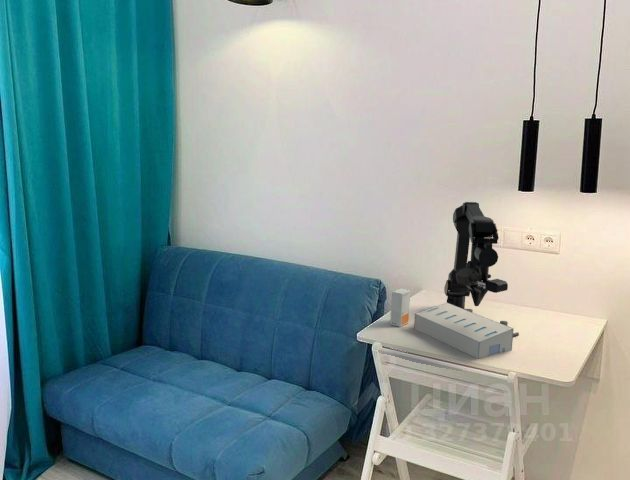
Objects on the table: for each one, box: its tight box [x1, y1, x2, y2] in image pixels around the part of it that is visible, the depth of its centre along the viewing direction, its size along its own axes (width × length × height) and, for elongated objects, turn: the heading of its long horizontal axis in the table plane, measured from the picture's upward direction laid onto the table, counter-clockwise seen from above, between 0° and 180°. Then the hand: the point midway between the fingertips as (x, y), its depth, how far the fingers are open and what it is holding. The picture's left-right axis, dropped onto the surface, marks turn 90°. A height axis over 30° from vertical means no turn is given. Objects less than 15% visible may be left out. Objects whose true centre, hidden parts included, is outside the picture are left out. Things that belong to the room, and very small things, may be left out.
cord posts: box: [465, 308, 520, 338], centre depth 208 cm, size 8×24×5 cm, turn 34°
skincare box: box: [390, 287, 411, 328], centre depth 209 cm, size 6×4×12 cm
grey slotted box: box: [413, 302, 514, 359], centre depth 196 cm, size 30×14×8 cm, turn 30°
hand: (476, 305), depth 192 cm, fingers closed
